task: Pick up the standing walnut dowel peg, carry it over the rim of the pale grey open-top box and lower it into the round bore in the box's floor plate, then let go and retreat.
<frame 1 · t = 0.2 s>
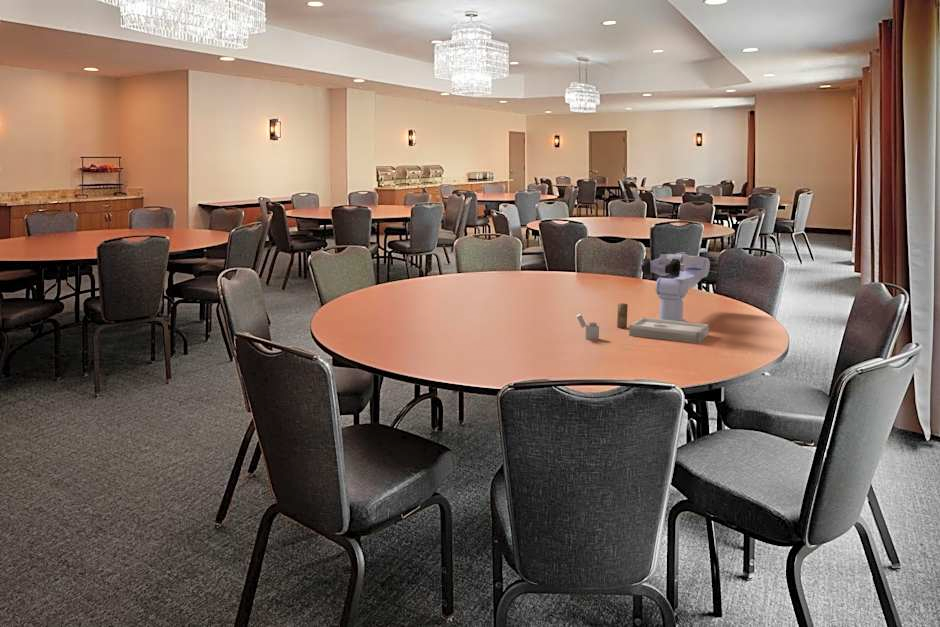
hand: (654, 269, 231), 21 cm above the table, fingers open, 7 cm apart
box: (668, 335, 233), on the table
peg: (621, 327, 245), on the table
lighter: (587, 339, 229), on the table
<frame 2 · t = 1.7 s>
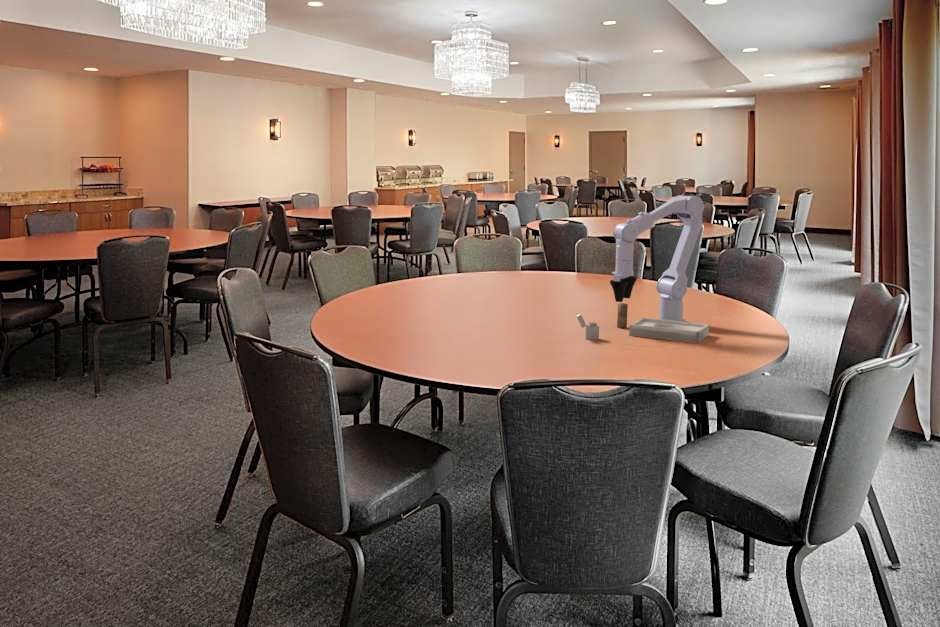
hand: (622, 299, 243), 9 cm above the table, fingers open, 7 cm apart
nothing on the table moved.
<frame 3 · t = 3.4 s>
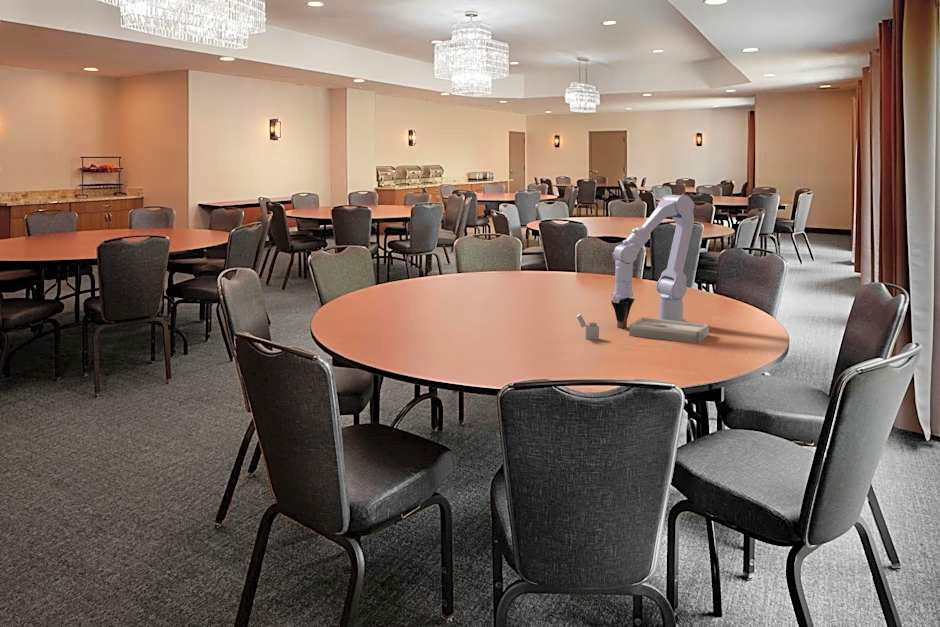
hand: (622, 320, 244), 2 cm above the table, fingers closed on peg, 3 cm apart
peg: (621, 327, 245), on the table, touching gripper
everything else where it was.
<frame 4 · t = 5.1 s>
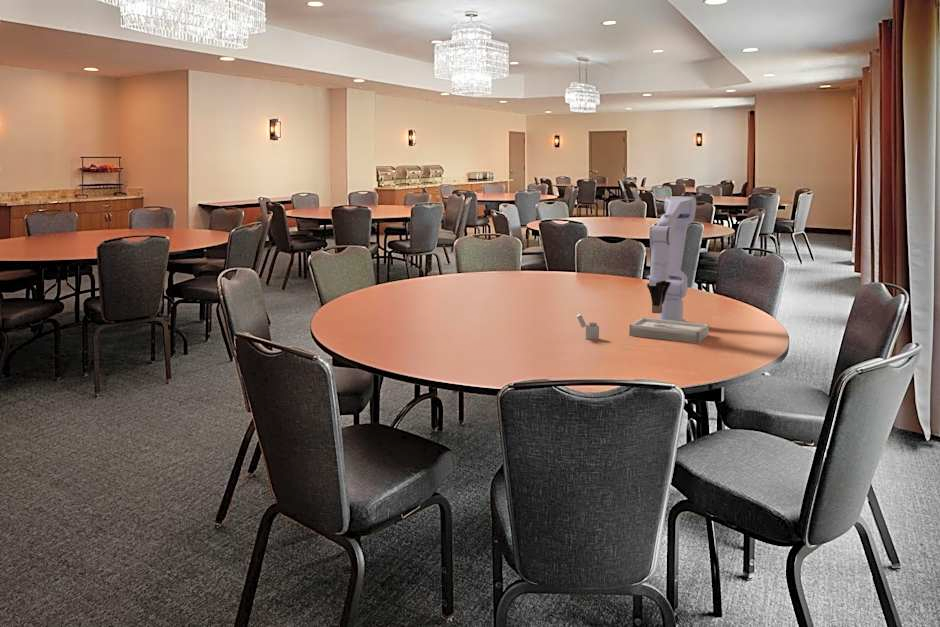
hand: (657, 304, 234), 9 cm above the table, fingers closed on peg, 3 cm apart
peg: (657, 312, 235), point 7 cm above the table, touching gripper
everything else where it was.
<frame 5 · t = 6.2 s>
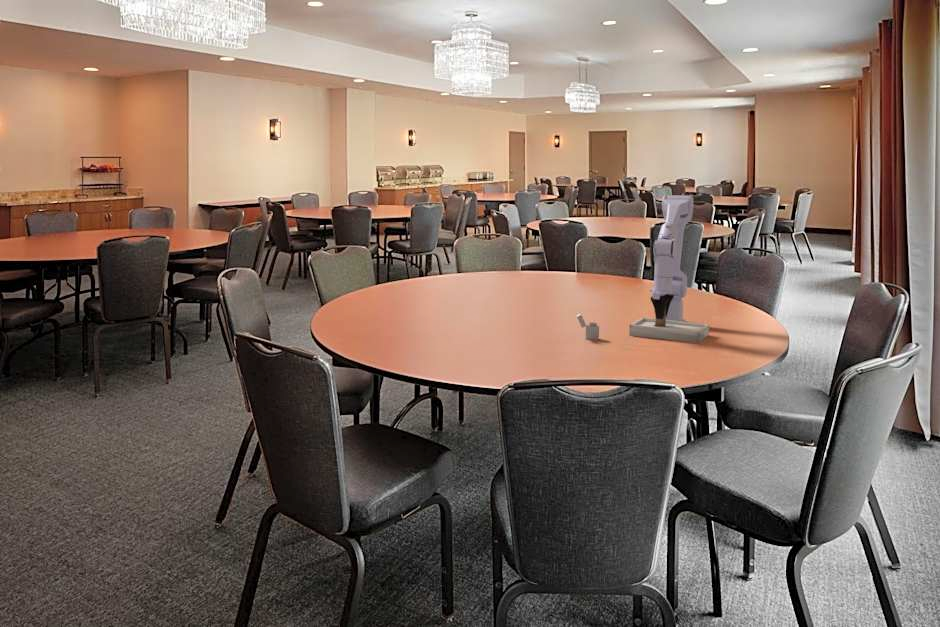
hand: (661, 317, 234), 5 cm above the table, fingers closed on peg, 3 cm apart
peg: (660, 325, 235), point 3 cm above the table, touching gripper
everything else where it was.
when the fingers open (4 cm above the table, at t = 6.8 s): peg drops 2 cm, resting in box.
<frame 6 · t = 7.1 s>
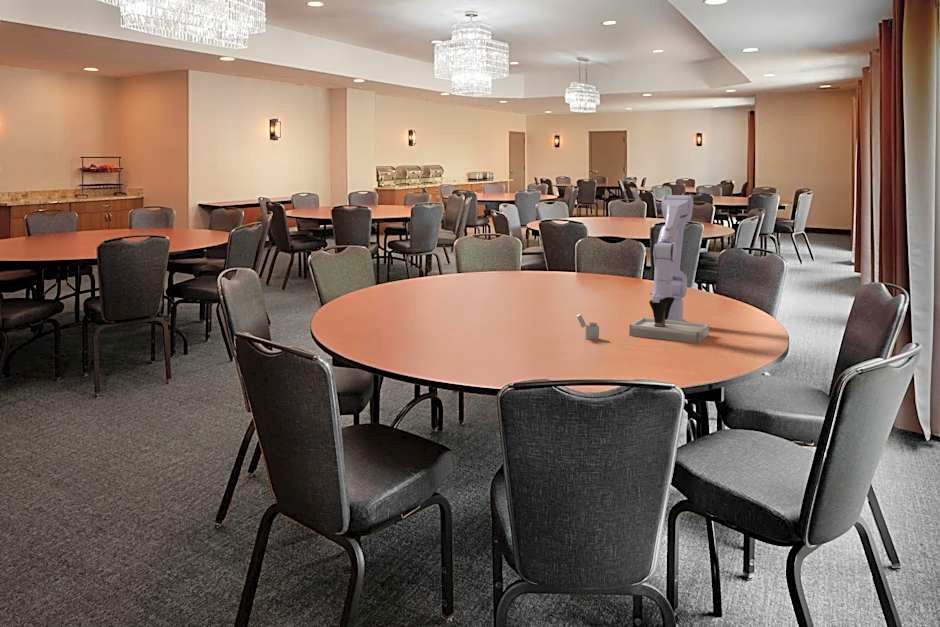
hand: (661, 320, 235), 4 cm above the table, fingers open, 5 cm apart
peg: (660, 333, 236), resting in box
everything else where it was.
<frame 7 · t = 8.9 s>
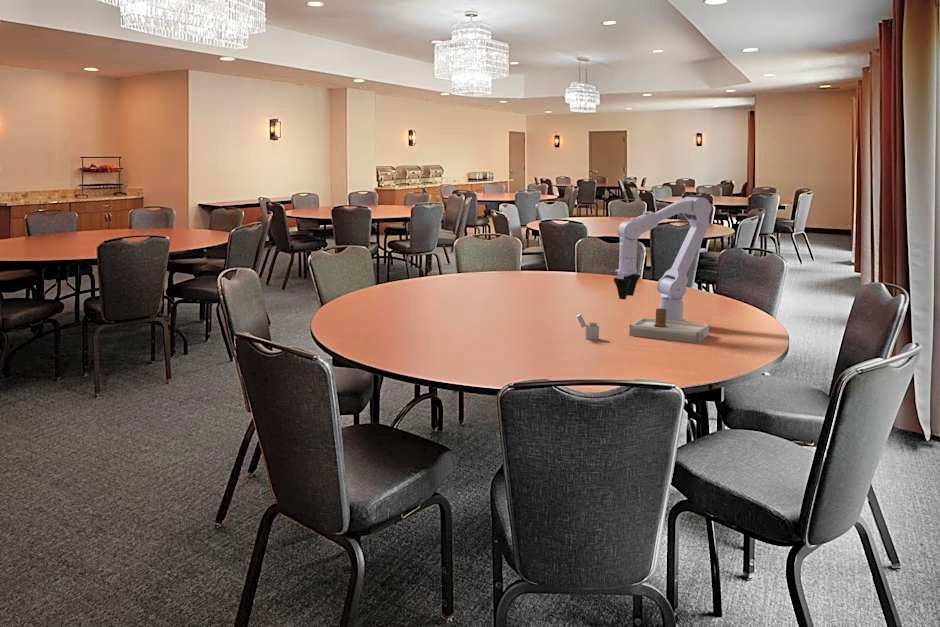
hand: (626, 297, 245), 10 cm above the table, fingers open, 7 cm apart
nothing on the table moved.
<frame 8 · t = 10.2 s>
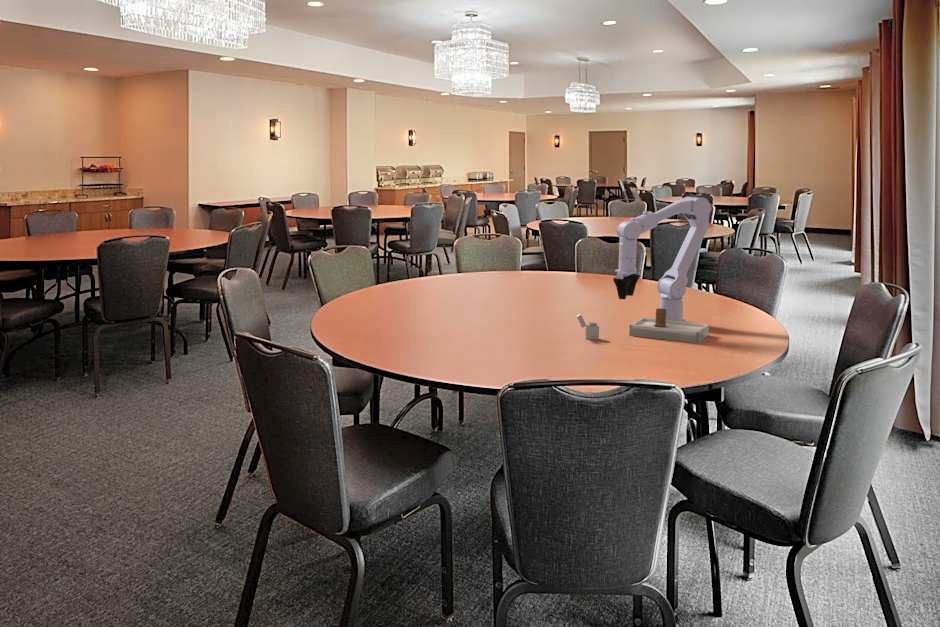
hand: (625, 297, 245), 10 cm above the table, fingers open, 7 cm apart
nothing on the table moved.
at the end: peg 0.2 cm from the target spot on the box, point 0.0 cm above the box's base; peg tilted 0°; the gripper is holding nothing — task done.
